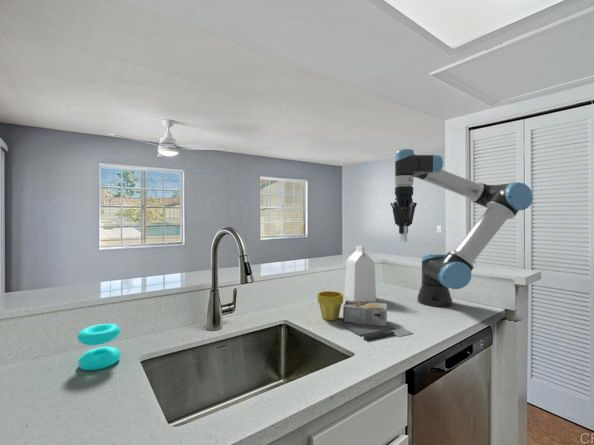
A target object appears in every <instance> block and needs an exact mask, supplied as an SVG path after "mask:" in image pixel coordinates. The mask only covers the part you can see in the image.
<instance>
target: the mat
mask: <svg viewBox="0 0 594 445" xmlns="http://www.w3.org/2000/svg"><path fill="white" fill-rule="evenodd" d="M336 323H337V324H338V325H339V326H340V327H342V328H344V329H347V330H348V331H350V332H351V333H353V334H355V335H357V336H359V337H362V336H368V335H373V334H378V333H383V332H388V331H391V330H396V327H394V325H391V324H388V323H387V325H386V326H376V325H366V324H356V323H346V322H343V320H342V321H338V322H336Z"/></svg>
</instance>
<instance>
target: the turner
mask: <svg viewBox="0 0 594 445" xmlns="http://www.w3.org/2000/svg"><path fill="white" fill-rule="evenodd" d="M413 334H414V332H412V331H410V330H408V329H405V328H402V327H401V328H395V329H393V330H388V331H383V332H378V333H374V334H369V335H364V336H363V341H365V342H368V341H369V342H370V341H373V340H378V339H382V338H386V337H387V338H388V337H392V336H396V337H397V338H399V337H403V336H407V335H408V336H409V335H413Z"/></svg>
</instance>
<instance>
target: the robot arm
mask: <svg viewBox="0 0 594 445" xmlns="http://www.w3.org/2000/svg"><path fill="white" fill-rule="evenodd" d="M414 151H415V150H413V149H410V148H405V149H403V148H402V149H399V150H396V151H395V157H394V171H395V172H394V174H395V175H394V176H395V177H394V186H395V188H394V195H395V198H394V199H395V200H394V201H392V202H390V206H391V209H392V213H393V220H394V224H395V225H397V227H398V228H399V229H398V233H399V242H404V243H405V242H408V234H409V227H410V226H411V225H413V221H414V217H415V216H414V215H415V210H416V207H417V205H418V204H417V202H414V201H413V195H414V187H413V186H414V178H417V179H419V180H422V181H424V182H427V183H430V184H432V185H435V186H437V187H440V188H443V189H445V190H448V191H449V192H452V193H454V194H457V195H460V196H463V197H465V198H468V199H469V201H470V202H471V203H475V204H477V205H480V206H481V207H483V208H487V209H486V210H485V211H484V212H483V213H482V215H481V216H480V218H479V219H478V220H477V221H476V223H475V224H474V225H473V227H472V228H471V229H469V231H468V233H467V234H466V236H464V238H463V239H462V240H461V241H460V242H459V243H458V245H457V247H456V248H455V249H454V250H451V251H450V250H449V251H448V252H447V253H446V254H423V255H422V257H421V286H420V289H419V291H418V294H417V302H418V303H419V304H423V305H427V306H431V307H440V308H441V307H443V308H445V307H450V306H452V305H453V298H452V296H451V292H450V290H449V289H452V290H460V289H463V288H465V287H467V286H468V285H469V283H470V281H471V280H472V271H473V270H474V262H475V261H476V259H477V258H478V257H479V256H480V254H481V253H482V252H483V250H484V249H485V248H486V246H488V244H489V243H490V241H491V240H492V239H493V238H494V236H495V235H496V234H497V233H498V232H499V230H500V229H501V228H502V226H503V225H504V224H505V223H506V221H508V220H510V219H511V220H512V219H514V218H515V217H516V215H517V214H518V213H519V212H520V211H524V210H527V209H528V208H530V206H531V205H532V204H533V201H534V197H533V191H532V190H531V188H530V186H528V184H526V183H524V182H514V181H513V182H508V183H503V184H502V183H501V184H494V185H493V184H485V183H483V182H474V181H472V180H469V179H466V178H464V177H462V176H459V175H457V174H454V173H452V172H449V171H447V170H444V169H443V167H444V159H443V157H442V156H441V155H438V154H415V152H414Z"/></svg>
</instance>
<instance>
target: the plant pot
mask: <svg viewBox="0 0 594 445" xmlns="http://www.w3.org/2000/svg"><path fill="white" fill-rule="evenodd" d="M316 295H317V303H318V304H319V308H320V309H319V310H320V313H321V318H322V319H323V320H325V321H336V320H338V319H339V318H340V313H341V306H342V304H343V303H344V294H343V293H342V292H340V291H333V290H328V291H327V290H326V291H325V290H324V291H320V292H318V293H317V294H316Z"/></svg>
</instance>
